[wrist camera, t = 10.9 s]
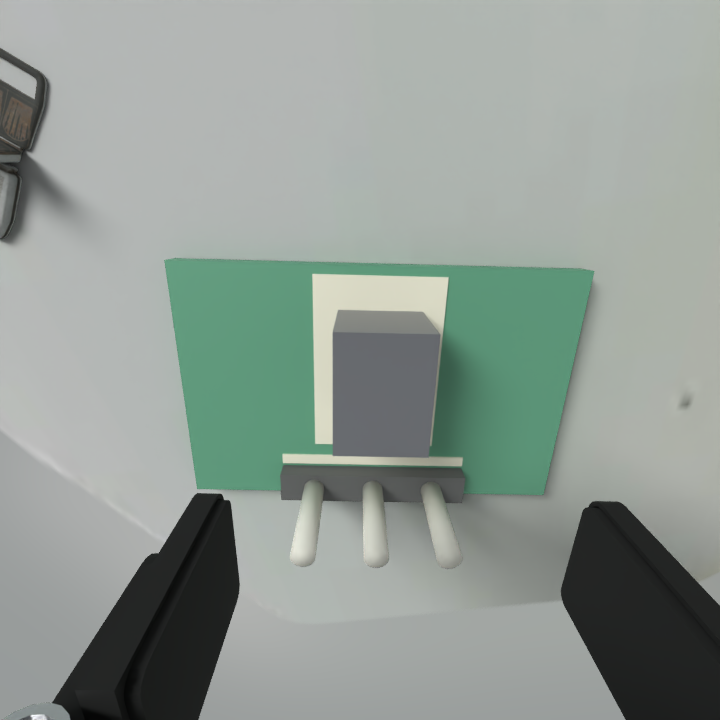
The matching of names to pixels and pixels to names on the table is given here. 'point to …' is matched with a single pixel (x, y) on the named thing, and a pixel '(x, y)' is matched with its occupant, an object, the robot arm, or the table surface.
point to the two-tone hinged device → (16, 136)
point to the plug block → (383, 383)
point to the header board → (315, 383)
